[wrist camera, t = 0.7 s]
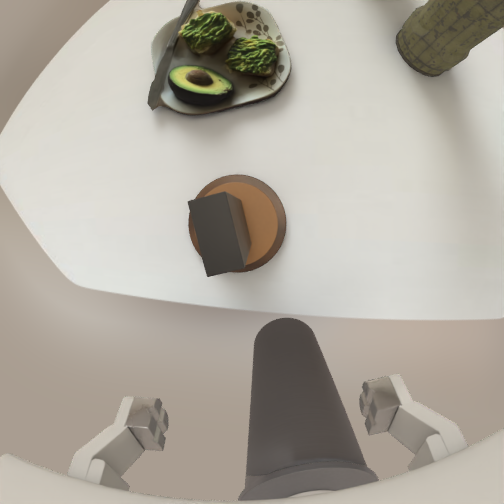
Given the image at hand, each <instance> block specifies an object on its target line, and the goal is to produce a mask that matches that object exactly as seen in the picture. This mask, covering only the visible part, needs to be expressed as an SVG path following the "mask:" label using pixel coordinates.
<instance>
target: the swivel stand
mask: <svg viewBox="0 0 504 504" xmlns="http://www.w3.org/2000/svg"><path fill="white" fill-rule="evenodd" d="M231 182H240V183H246V184H249V185H252V186H254V187H256V188H258V189H259V190H261V191H262V192H263V193H265V194H266V195H267V197H268V198H269V199H270V200H271V202H272V204H273V206H274V208H275V210H276V213H277V218H278V231H277V235H276V238H275V241H274V243H273V245H272V247H271V248H270V249H269V251H268V252H267V253H266V254H265V255H264V256H263V257H262V258H260V259H259V260H257V261H255V262H253V263H251V264H248V265H245V268H243V269H239V270H235V271H231V272H247V271H251V270H254V269H257V268H259V267H261V266H263V265H264V264H265V263H267V262H268V261H269V260H270V259H271V258H273V256H274V255H275V254H276V253H277V251H278V250H279V248H280V247H281V244H282V242H283V239H284V236H285V231H286V215H285V211H284V208H283V205H282V203H281V201H280V199H279V197H278V196H277V194H276V193H275V192H274V191H273V190H272V189H271V188H270V187H269V186H268V185H267V184H265V183H264V182H262V181H260V180H258V179H256V178H254V177H250V176H246V175H228V176H224V177H221V178H218V179H216V180H214V181H212V182H211V183H209V184H208V185H207V186H205V187H204V188H203V189H202V190H201V191H200V193H199V194H198V195H197V197H196V198H195V199H198V198H201V197H205V195H206V194H207V193H209V192H210V191H211V190H213V189H214V188H216V187H218V186H220V185H223V184H226V183H231ZM188 226H189V233H190V238H191V240H192V243H193V245H194V247H195V249H196V250H197V252H198V253H199V255H200V256H201V252H200V248H199V244H198V241H197V238H196V235H195V230H194V225H193V221H192V217H191V213H189V224H188ZM201 257H202V256H201Z"/></svg>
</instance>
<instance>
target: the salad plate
mask: <svg viewBox="0 0 504 504" xmlns="http://www.w3.org/2000/svg"><path fill="white" fill-rule="evenodd" d="M199 2H200V0H187V1H186V3H185V6H184V8H183V11H182V13H181V15H180V16H179V17H176V18H174V19H172V20H171V21H169V22H168V23H166V24H165V25H164V26H163V27H162V28H161V29H160V30H159V31H158V33H157V34H156V35H155V37H154V38H153V41H152V47H151V48H152V49H151V53H152V59H153V65H154V70H155V74H156V75H155V80H154V81H153V82H152V84H151V87H150V91H149V96H148V105H149V106H150V107H151V109H152V110H154V109H156V108H157V107H158V106H165V107H168V108H170V109H172V110H174V111H176V112H178V113H182V114H186V115H201V114H208V113H214V112H222V111H224V110H228V109H232V108H236V107H241V106H245V105H249V104H254V103H258V102H260V101H263V100H266V99H269V98H271V97H273V96H275V95H276V94H277V93H278V92H279V91H280V90H281V89H282V87H283V86H284V84H285V83H286V81H287V79H288V76H289V74H290V71H291V59H290V55H289V52H288V49H287V47H286V45H285V43H284V41H283V38H282V36H281V33H280V32H279V29H278V25H277V24H276V22H275V20H274V19H273V17H272V15H271V13H270V12H269V11H268V10H267V9H265V8H263V7H262V6H259V5H257V4H254V3H250V2H245V1H235V2H230V3H225V4H221V5H217V6H214V7H210V8H205V9H204V8H200V6H199Z"/></svg>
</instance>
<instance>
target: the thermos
mask: <svg viewBox="0 0 504 504" xmlns="http://www.w3.org/2000/svg"><path fill="white" fill-rule="evenodd" d="M502 27H504V0H429V1H428V2H427V3H426V4H425V5H424V6H421V7H419V8H417V9H416V10H415V11H414V12H413V13H412V14H411V16H410V17H409V18H408V19H407V21H406V22H405V23H404V25H403V27H402V29H401V30H400V31H399V33H398V34H397V36H396V44H397V48H398V51H399V52H400V54H401V56H402V58H403V59H404V60H405V61H406V62H407V63H408V64H409V65H410V66H411V67H412V68H413V69H415V70H416V71H418V72H420V73H422V74H424V75H427V76H432V77H434V76H439V75H440V74H442V73H443V72H444V71H448V70H449V69H451V68H452V67H454V66H455V65H457V64H458V63H460V62H461V61H462V60H464V59H465V58H467V56H468V54H469V51H470V50H471V49H472V48H473V47H475V46H476V45H478V44H479V43H480V42H482V41H483V40H485V39H486V38H488V37H489V36H491V35H492V34H493V33H495V32H496V31H498V30H499V29H501V28H502Z"/></svg>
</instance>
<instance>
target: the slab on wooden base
mask: <svg viewBox="0 0 504 504" xmlns="http://www.w3.org/2000/svg"><path fill="white" fill-rule="evenodd" d="M188 205H189V209H190V213H191V217H192V221H193V225H194V230H195V235H196V238H197V241H198V244H199V248H200V252H201V256H202V259H203V263H204V267H205V270H206V274H207V277H209V276H214V275H218V274H222V273H227V272H231V271H235V270H239V269H243V268H245V265H248V264H251V263H253V262H255V261H257V260H259V259H260V258H262V257H263V256H264V255H265V254H266V253H267V252H268V251H269V249H270V248H271V247H272V245H273V243H274V241H275V238H276V235H277V231H278V218H277V213H276V210H275V208H274V206H273V204H272V202H271V200H270V199H269V198H268V197H267V195H266V194H265V193H263V192H262V191H261V190H259V189H258V188H256V187H254V186H252V185H249V184H246V183H240V182H231V183H226V184H223V185H220V186H218V187H216V188H214V189H213V190H211V191H210V192H209V193H207V194H206V195H205V197H201V198H198V199H194V200H191V201H188Z"/></svg>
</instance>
